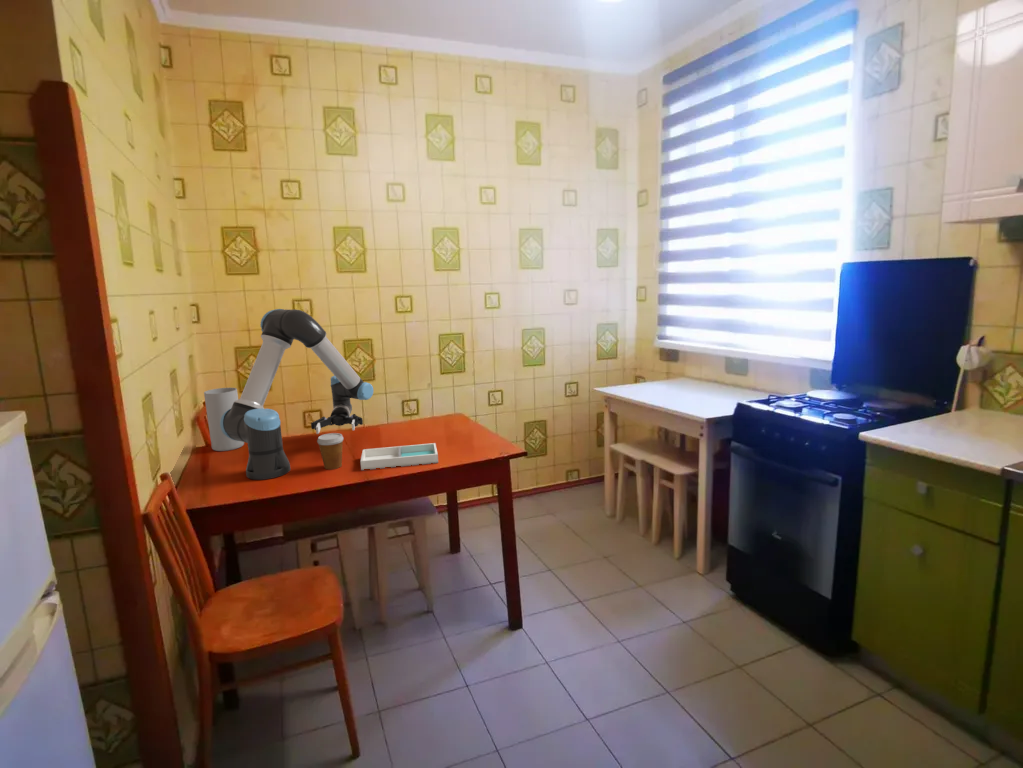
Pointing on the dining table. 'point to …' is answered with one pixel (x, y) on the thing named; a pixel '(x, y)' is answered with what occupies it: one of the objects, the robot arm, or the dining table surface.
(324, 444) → the disposable coffee cup
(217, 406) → the cylinder vase
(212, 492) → the dining table surface
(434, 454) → the divided tray
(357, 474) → the dining table surface
